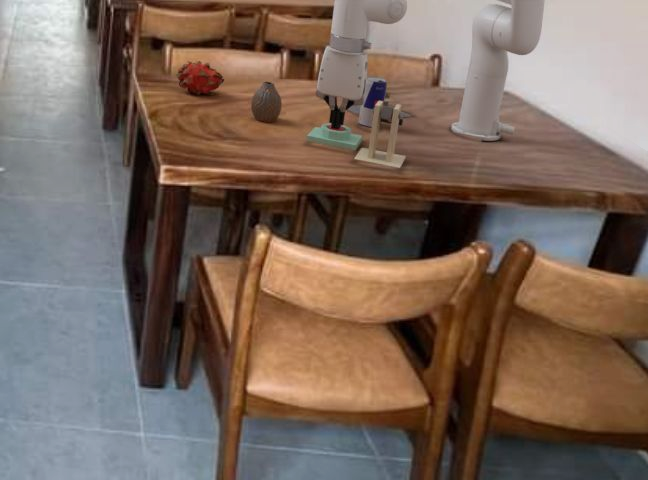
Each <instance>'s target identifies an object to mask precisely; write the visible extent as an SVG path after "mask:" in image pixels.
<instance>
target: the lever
mask: <svg viewBox="0 0 648 480" xmlns="http://www.w3.org/2000/svg"><path fill="white" fill-rule="evenodd" d="M388 106H389V105H388ZM388 106H383V107H382V112H381V120H380V122H381V123H385V124H390V125H391V124H392V117H393V111H394V109H393V108H394V106H391V107H388ZM403 123H404V119H403V118H401V119H399V124H398V126H401V127H402V126H403Z"/></svg>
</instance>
